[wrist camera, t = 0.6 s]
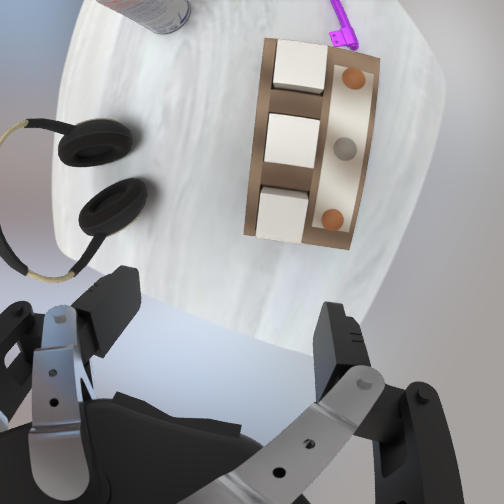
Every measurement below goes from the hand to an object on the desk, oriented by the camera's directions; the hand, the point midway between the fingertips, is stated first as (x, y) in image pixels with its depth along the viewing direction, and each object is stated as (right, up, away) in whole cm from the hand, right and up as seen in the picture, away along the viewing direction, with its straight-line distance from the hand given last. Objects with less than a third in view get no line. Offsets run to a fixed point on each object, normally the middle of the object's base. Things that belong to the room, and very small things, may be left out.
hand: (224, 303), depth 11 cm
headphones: (-14, +12, +19) cm, 27 cm away
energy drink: (-8, +29, +10) cm, 32 cm away
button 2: (+5, +19, +10) cm, 22 cm away
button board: (+7, +13, +15) cm, 21 cm away
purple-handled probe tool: (+9, +30, +8) cm, 32 cm away
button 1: (+4, +6, +16) cm, 18 cm away
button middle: (+5, +13, +13) cm, 19 cm away
